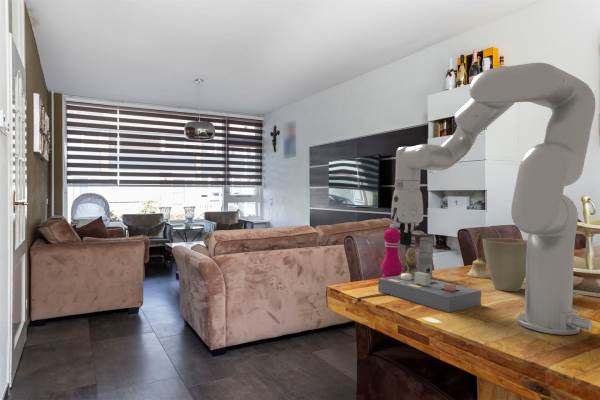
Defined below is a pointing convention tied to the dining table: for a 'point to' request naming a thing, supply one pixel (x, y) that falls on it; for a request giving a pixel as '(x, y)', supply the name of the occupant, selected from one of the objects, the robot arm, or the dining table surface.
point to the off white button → (406, 277)
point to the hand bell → (479, 262)
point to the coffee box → (419, 254)
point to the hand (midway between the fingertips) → (405, 244)
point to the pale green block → (422, 278)
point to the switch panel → (431, 293)
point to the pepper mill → (391, 253)
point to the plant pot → (506, 262)
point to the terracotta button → (449, 287)
